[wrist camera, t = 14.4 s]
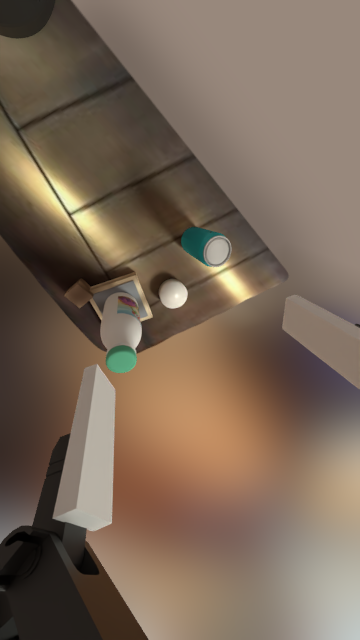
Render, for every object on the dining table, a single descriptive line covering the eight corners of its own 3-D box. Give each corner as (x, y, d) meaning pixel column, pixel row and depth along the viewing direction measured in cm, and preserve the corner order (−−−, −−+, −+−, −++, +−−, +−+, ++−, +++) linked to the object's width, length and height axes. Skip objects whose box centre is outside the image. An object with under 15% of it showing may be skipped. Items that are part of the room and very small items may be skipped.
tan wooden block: (68, 288, 43) (63, 295, 39) (81, 277, 42) (77, 283, 39) (82, 300, 45) (79, 308, 42) (95, 290, 44) (93, 297, 41)
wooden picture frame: (86, 288, 44) (84, 292, 41) (135, 271, 45) (136, 275, 42) (109, 327, 50) (108, 333, 48) (151, 312, 51) (153, 317, 49)
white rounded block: (155, 283, 47) (156, 288, 45) (180, 275, 48) (184, 278, 46) (163, 306, 51) (165, 311, 49) (186, 298, 52) (190, 303, 49)
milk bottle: (115, 324, 47) (111, 387, 31) (97, 299, 43) (82, 357, 26) (143, 312, 47) (154, 368, 31) (128, 285, 43) (132, 334, 27)
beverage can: (196, 255, 47) (224, 272, 34) (175, 247, 44) (197, 263, 32) (205, 231, 44) (238, 240, 32) (184, 222, 42) (210, 228, 30)
